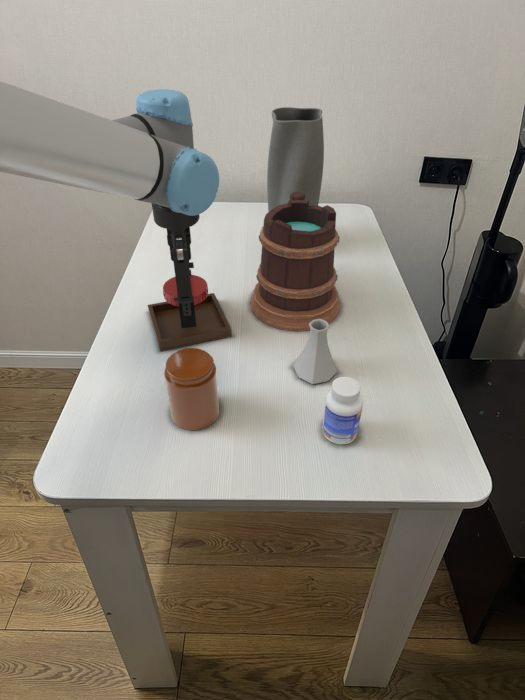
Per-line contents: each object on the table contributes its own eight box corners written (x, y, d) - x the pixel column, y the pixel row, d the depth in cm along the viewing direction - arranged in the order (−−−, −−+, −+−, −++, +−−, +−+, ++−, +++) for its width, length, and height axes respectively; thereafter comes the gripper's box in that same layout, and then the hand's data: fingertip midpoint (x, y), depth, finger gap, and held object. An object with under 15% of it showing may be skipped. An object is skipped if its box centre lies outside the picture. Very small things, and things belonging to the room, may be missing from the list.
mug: (333, 270, 111) (343, 184, 98) (344, 331, 94) (358, 236, 81) (252, 269, 111) (251, 182, 99) (248, 330, 94) (246, 235, 81)
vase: (318, 235, 124) (329, 107, 105) (314, 258, 115) (326, 123, 96) (270, 231, 126) (272, 104, 107) (263, 254, 117) (264, 120, 97)
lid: (213, 284, 93) (212, 276, 92) (201, 309, 87) (200, 301, 86) (172, 280, 95) (171, 272, 93) (157, 304, 88) (156, 295, 87)
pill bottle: (359, 446, 73) (369, 400, 67) (323, 445, 73) (329, 399, 67) (354, 418, 77) (363, 373, 71) (320, 418, 77) (325, 372, 71)
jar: (176, 435, 74) (168, 386, 67) (167, 401, 80) (158, 352, 73) (224, 423, 76) (221, 374, 69) (212, 390, 82) (208, 341, 75)
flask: (317, 351, 89) (322, 306, 83) (344, 374, 85) (351, 328, 78) (285, 366, 86) (288, 320, 80) (311, 390, 82) (316, 344, 75)
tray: (159, 351, 89) (158, 342, 88) (148, 312, 98) (147, 304, 97) (231, 336, 93) (231, 328, 91) (214, 300, 102) (214, 292, 100)
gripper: (201, 225, 72) (211, 345, 86) (194, 173, 87) (204, 281, 102) (149, 229, 71) (168, 349, 85) (151, 175, 86) (167, 284, 101)
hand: (188, 312), depth 94 cm, fingers closed on lid, 8 cm apart
